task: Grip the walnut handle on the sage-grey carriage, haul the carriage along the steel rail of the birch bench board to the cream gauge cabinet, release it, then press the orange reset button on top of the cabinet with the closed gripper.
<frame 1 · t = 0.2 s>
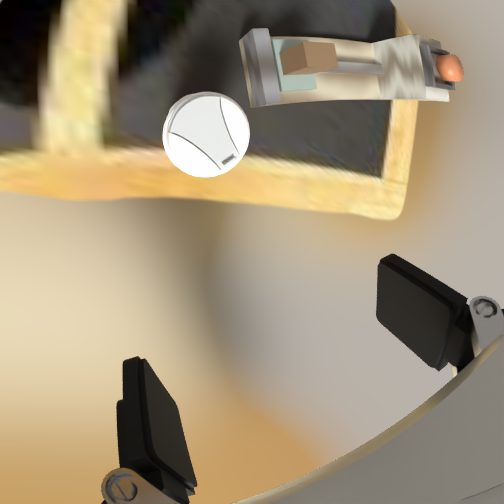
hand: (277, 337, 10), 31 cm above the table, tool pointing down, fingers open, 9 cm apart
carriage: (300, 61, 29), point 6 cm above the table, slide at 0.0 cm
reset button: (450, 67, 27), point 15 cm above the table, slide at 0.0 cm
paper cup: (188, 134, 35), on the table
track: (333, 69, 37), on the table
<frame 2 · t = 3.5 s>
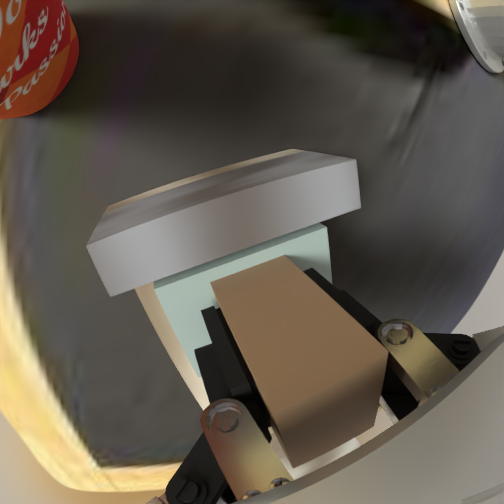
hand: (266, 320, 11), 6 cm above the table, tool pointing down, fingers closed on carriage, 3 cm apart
carriage: (271, 328, 11), point 6 cm above the table, slide at 0.0 cm, touching gripper
paper cup: (33, 64, 9), on the table
track: (259, 367, 20), on the table
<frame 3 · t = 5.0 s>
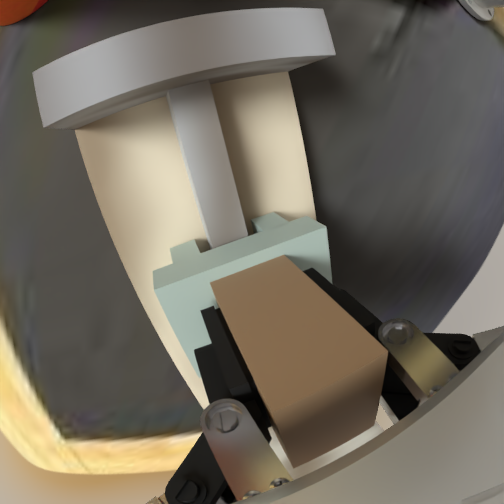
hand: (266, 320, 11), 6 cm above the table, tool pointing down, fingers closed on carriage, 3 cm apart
carriage: (271, 328, 11), point 6 cm above the table, slide at 6.1 cm, touching gripper
track: (240, 304, 18), on the table
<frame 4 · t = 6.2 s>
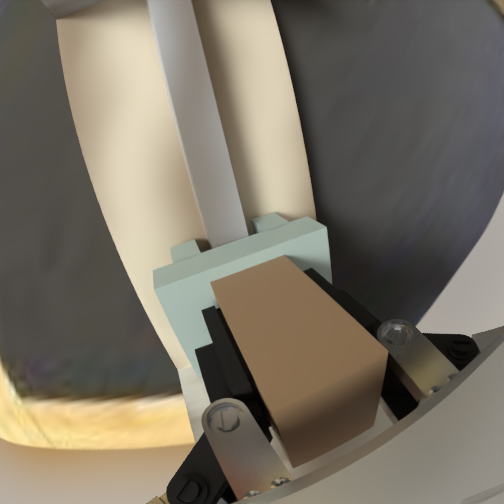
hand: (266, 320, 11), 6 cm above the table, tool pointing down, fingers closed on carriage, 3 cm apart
carriage: (271, 328, 11), point 6 cm above the table, slide at 12.0 cm, touching gripper
track: (213, 214, 15), on the table
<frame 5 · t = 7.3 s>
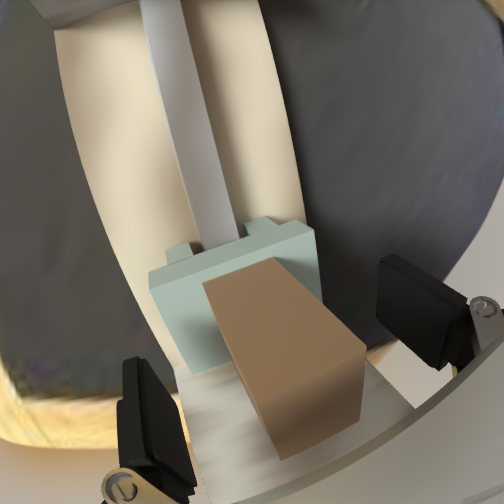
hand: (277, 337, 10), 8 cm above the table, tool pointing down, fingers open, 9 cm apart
carriage: (260, 326, 11), point 6 cm above the table, slide at 12.0 cm
track: (206, 218, 16), on the table
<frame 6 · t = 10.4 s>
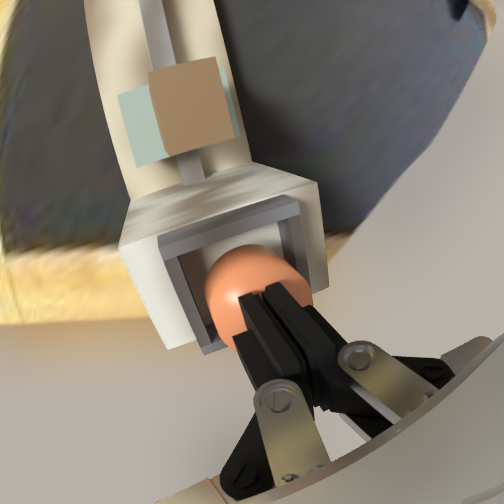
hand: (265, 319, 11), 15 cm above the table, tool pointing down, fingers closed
carriage: (181, 112, 15), point 6 cm above the table, slide at 12.0 cm
reset button: (256, 299, 12), point 14 cm above the table, slide at 0.3 cm, touching gripper
track: (166, 87, 20), on the table
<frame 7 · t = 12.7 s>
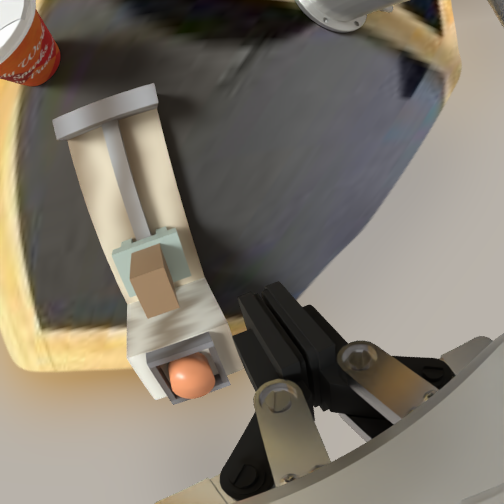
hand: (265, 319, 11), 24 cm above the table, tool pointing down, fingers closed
carriage: (152, 271, 27), point 6 cm above the table, slide at 12.0 cm
reset button: (190, 375, 25), point 13 cm above the table, slide at 1.6 cm
paper cup: (40, 63, 20), on the table
track: (142, 227, 32), on the table
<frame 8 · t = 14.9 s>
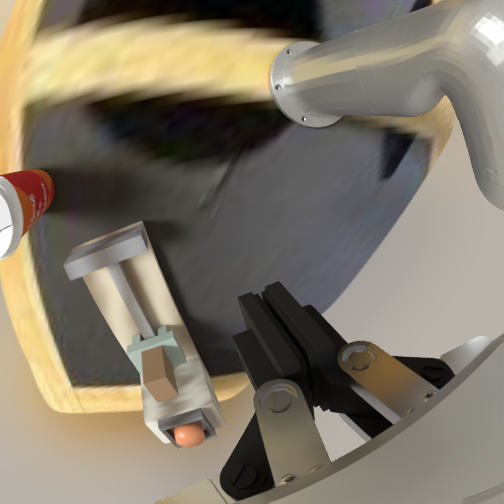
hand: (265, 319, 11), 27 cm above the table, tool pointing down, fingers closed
carriage: (158, 365, 35), point 6 cm above the table, slide at 12.0 cm
reset button: (188, 433, 33), point 13 cm above the table, slide at 1.6 cm
paper cup: (36, 190, 28), on the table
track: (147, 322, 40), on the table
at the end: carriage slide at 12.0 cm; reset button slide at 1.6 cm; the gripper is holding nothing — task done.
